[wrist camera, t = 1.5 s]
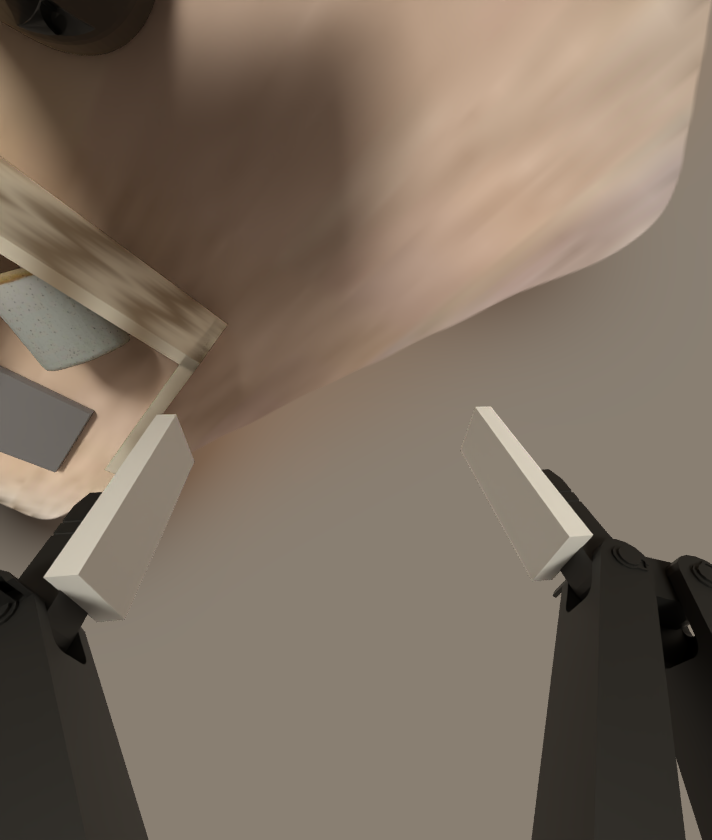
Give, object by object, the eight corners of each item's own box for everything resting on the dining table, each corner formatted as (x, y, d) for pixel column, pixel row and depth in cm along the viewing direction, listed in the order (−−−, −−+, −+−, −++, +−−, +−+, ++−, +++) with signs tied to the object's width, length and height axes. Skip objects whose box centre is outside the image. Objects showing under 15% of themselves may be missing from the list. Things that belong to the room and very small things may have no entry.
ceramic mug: (87, 249, 29) (22, 264, 22) (145, 331, 33) (104, 361, 27) (-10, 282, 29) (-98, 304, 23) (59, 357, 34) (2, 392, 28)
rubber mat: (-89, 411, 36) (-96, 415, 35) (-68, 333, 31) (-76, 335, 31) (59, 468, 43) (55, 472, 43) (94, 410, 38) (90, 414, 38)
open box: (-93, 291, 29) (-249, 327, 21) (-56, 115, 23) (-258, 70, 15) (156, 419, 40) (116, 474, 32) (227, 324, 34) (199, 363, 26)
